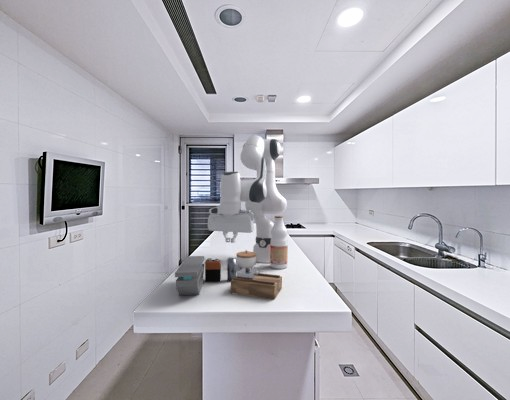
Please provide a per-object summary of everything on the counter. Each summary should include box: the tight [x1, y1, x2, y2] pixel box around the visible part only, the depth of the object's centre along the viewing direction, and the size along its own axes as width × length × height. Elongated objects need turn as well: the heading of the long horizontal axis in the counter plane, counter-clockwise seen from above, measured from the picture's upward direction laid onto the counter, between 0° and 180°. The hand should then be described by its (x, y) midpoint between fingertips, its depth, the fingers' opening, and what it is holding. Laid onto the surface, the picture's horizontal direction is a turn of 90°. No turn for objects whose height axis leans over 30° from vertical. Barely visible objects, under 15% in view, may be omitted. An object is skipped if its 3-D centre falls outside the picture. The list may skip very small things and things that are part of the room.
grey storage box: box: [174, 255, 205, 296], centre depth 104 cm, size 25×8×11 cm, turn 5°
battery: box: [204, 257, 222, 283], centre depth 115 cm, size 4×7×10 cm, turn 93°
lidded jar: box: [235, 249, 256, 270], centre depth 135 cm, size 11×11×9 cm
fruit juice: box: [269, 215, 289, 270], centre depth 138 cm, size 9×9×28 cm
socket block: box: [230, 272, 283, 300], centre depth 103 cm, size 12×18×6 cm, turn 71°
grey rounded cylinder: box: [226, 257, 237, 283], centre depth 115 cm, size 4×4×10 cm
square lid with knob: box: [236, 268, 260, 280], centre depth 104 cm, size 7×7×4 cm
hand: (230, 242), depth 107 cm, fingers closed
